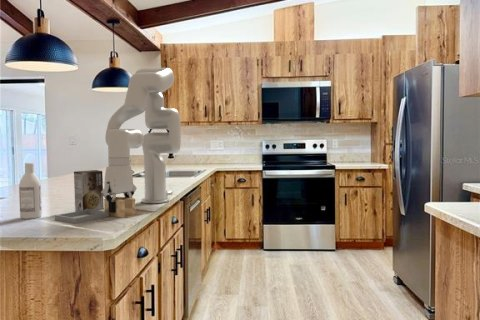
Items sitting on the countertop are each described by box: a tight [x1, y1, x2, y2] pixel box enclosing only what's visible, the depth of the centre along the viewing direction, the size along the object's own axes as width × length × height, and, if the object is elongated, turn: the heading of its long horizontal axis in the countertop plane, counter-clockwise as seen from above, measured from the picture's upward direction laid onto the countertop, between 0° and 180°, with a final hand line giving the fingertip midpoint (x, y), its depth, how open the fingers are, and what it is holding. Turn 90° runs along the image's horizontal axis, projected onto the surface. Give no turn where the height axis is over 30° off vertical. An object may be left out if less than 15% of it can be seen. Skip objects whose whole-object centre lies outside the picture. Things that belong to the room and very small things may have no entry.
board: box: [113, 208, 157, 219], centre depth 145 cm, size 15×12×1 cm
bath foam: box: [18, 162, 42, 220], centre depth 140 cm, size 7×7×20 cm
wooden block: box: [103, 196, 136, 218], centre depth 142 cm, size 9×6×6 cm
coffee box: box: [73, 169, 104, 212], centre depth 152 cm, size 9×6×16 cm
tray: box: [54, 209, 110, 224], centre depth 136 cm, size 14×12×2 cm
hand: (120, 210), depth 142 cm, fingers closed on wooden block, 6 cm apart
